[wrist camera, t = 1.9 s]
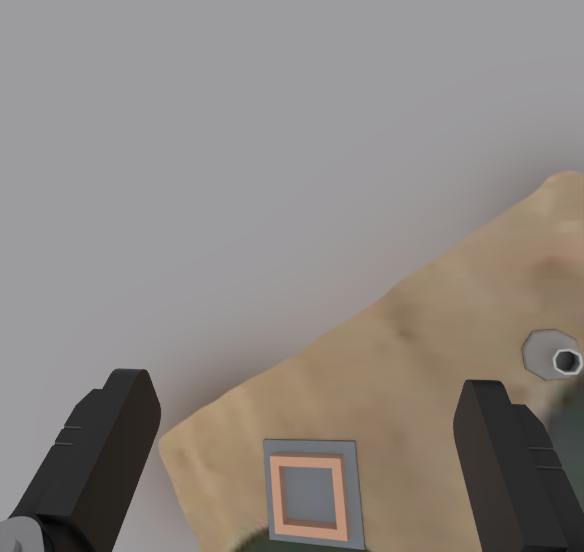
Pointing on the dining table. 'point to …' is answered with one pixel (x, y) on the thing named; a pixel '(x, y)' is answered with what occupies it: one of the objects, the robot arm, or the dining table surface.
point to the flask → (552, 355)
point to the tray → (314, 492)
